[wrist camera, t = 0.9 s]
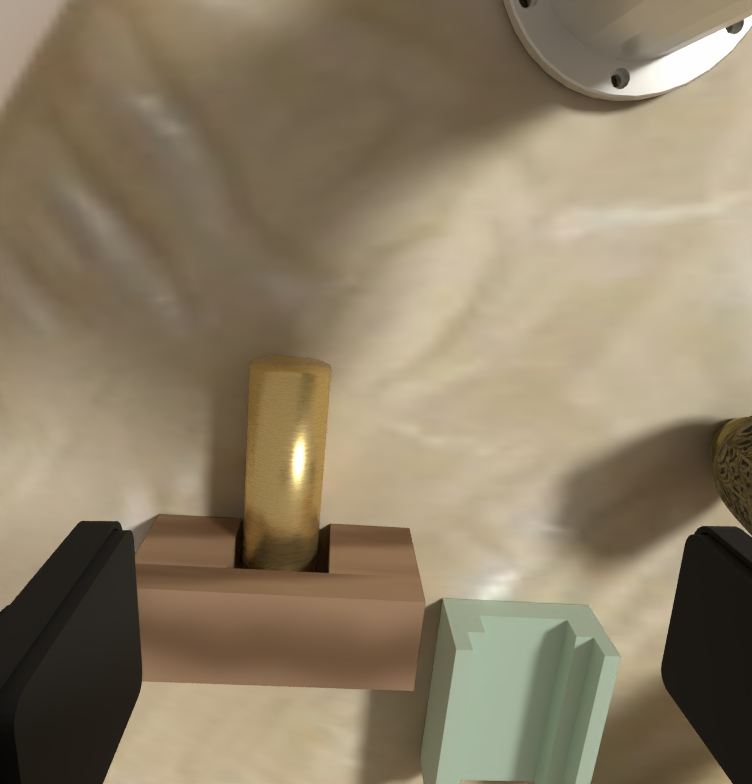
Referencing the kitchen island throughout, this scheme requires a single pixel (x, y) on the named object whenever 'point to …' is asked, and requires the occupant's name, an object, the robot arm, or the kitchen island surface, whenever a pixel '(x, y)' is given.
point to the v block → (517, 693)
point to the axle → (284, 462)
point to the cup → (734, 468)
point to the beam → (278, 610)
